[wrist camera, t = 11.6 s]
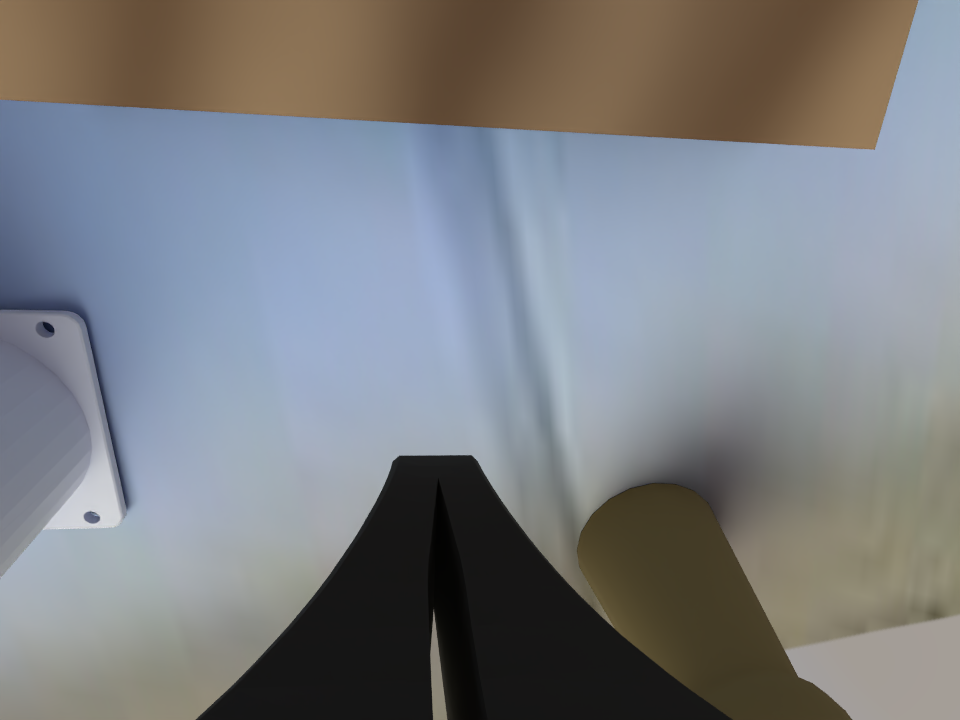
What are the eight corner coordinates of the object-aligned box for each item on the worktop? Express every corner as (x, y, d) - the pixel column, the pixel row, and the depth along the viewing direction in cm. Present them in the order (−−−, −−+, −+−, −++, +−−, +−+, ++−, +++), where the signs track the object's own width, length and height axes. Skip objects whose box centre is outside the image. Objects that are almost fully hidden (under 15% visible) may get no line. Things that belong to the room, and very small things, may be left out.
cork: (548, 566, 25) (645, 883, 15) (638, 459, 23) (818, 733, 13) (654, 615, 26) (804, 926, 16) (744, 519, 25) (973, 800, 15)
